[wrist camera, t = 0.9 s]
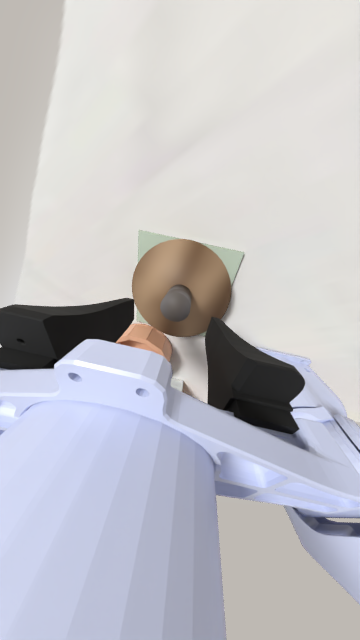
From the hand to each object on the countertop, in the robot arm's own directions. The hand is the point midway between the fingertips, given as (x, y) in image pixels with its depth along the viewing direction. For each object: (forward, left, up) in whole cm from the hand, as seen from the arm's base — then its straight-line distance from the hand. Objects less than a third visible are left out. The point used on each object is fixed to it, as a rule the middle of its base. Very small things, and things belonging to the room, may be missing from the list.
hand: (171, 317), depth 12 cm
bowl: (+5, +13, -9) cm, 16 cm away
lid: (0, 0, -8) cm, 8 cm away
